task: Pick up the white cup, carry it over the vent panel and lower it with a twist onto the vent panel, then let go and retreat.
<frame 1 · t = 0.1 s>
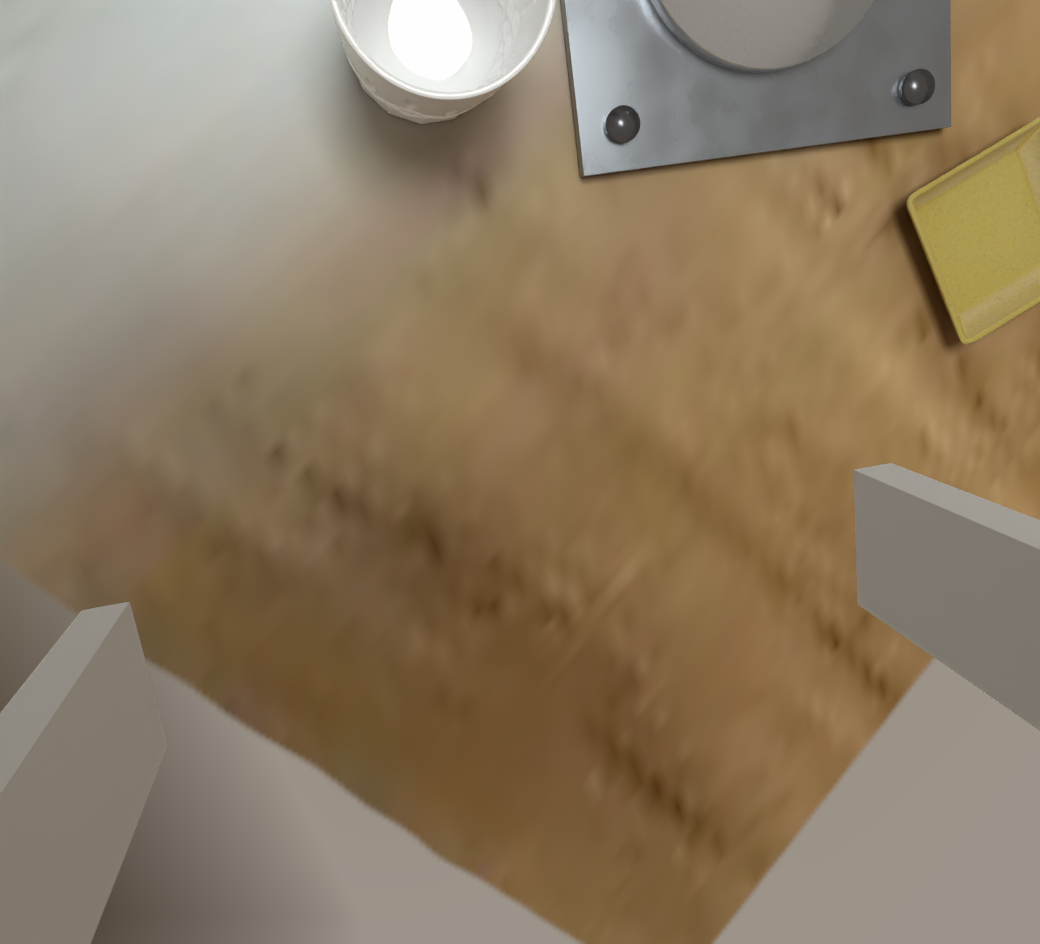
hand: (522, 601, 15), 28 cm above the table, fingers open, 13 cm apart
white cup: (422, 45, 39), on the table
yellow square tray: (976, 233, 46), on the table
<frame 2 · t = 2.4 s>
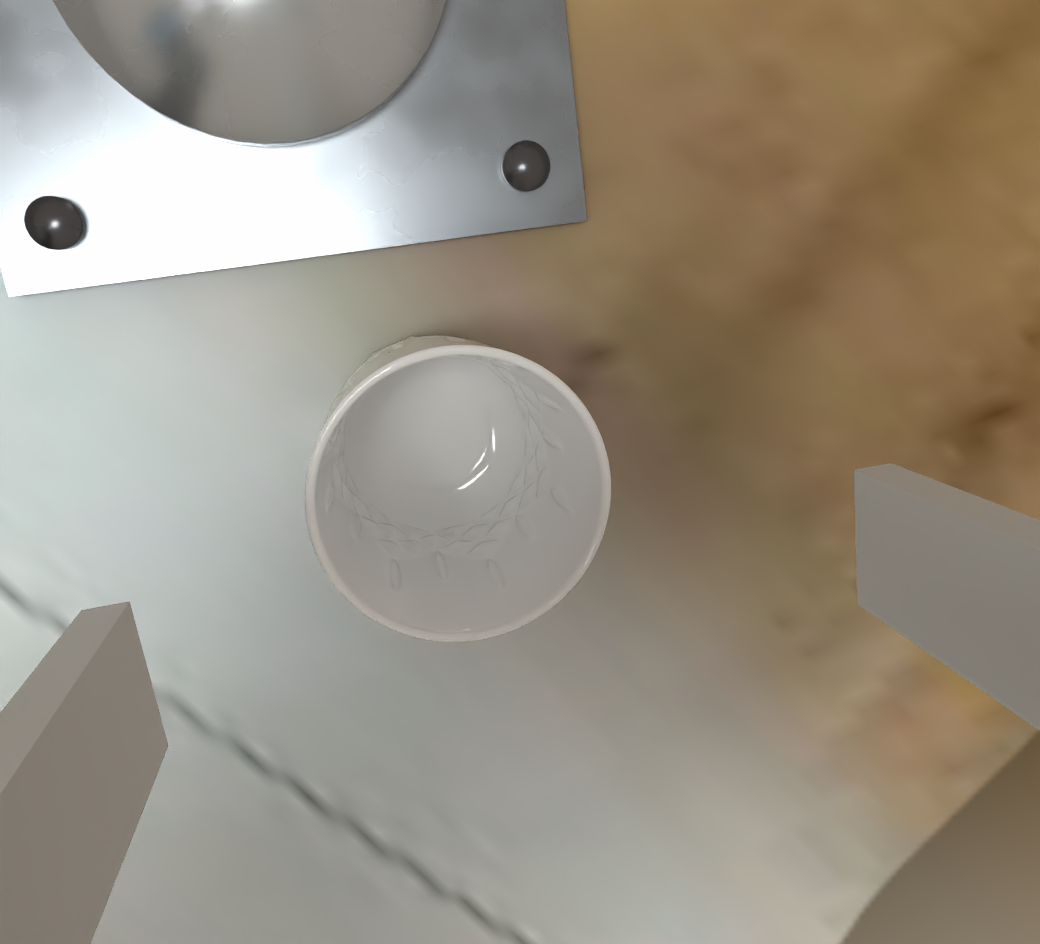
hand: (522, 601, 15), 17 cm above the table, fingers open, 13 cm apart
white cup: (429, 426, 32), on the table
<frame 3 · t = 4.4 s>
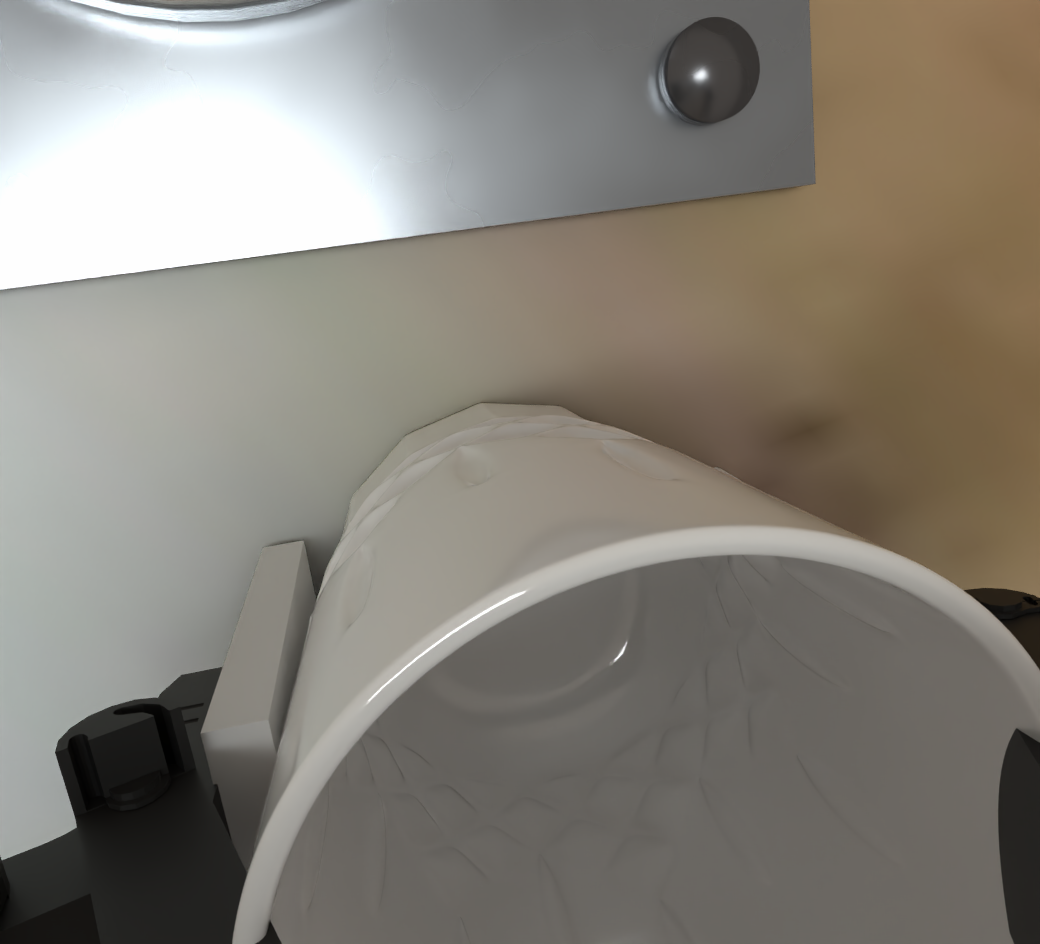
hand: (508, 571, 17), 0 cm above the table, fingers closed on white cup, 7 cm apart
white cup: (505, 563, 17), on the table, touching gripper
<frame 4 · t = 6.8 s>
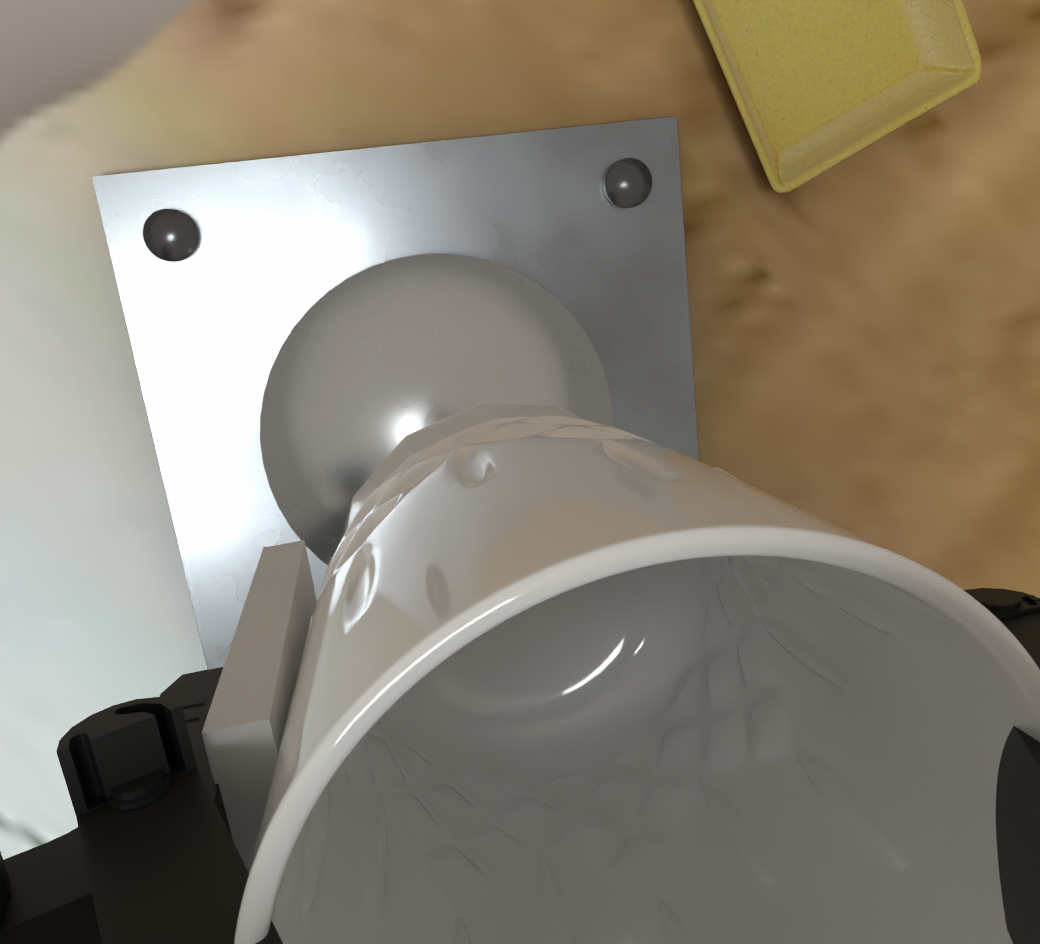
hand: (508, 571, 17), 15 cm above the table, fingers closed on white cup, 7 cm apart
white cup: (506, 563, 17), point 15 cm above the table, touching gripper
yellow square tray: (804, 32, 31), on the table
vent panel: (437, 425, 31), on the table
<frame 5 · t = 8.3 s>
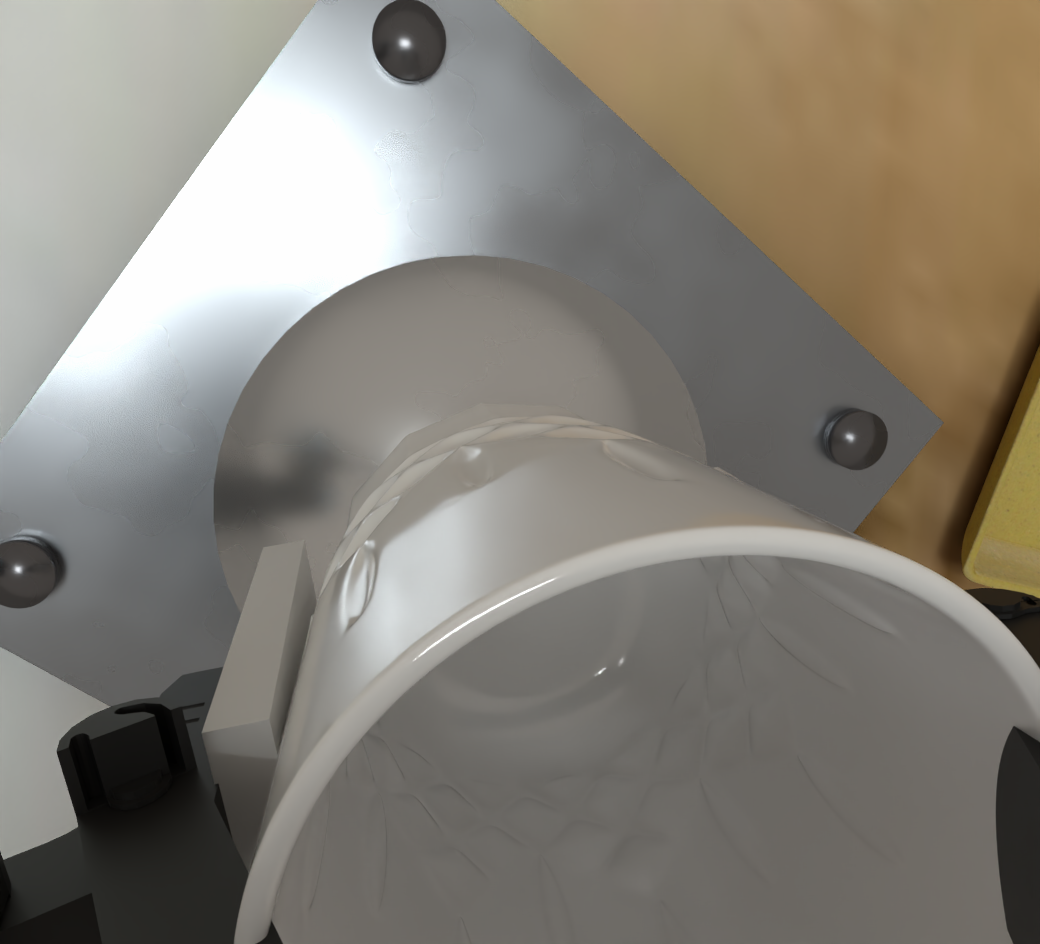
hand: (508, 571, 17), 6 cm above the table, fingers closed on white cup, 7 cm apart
white cup: (506, 563, 17), point 6 cm above the table, touching gripper
vent panel: (463, 490, 23), on the table
when the fingers open (3 cm above the table, at t = 9.5 s): white cup stays where it is, resting on vent panel.
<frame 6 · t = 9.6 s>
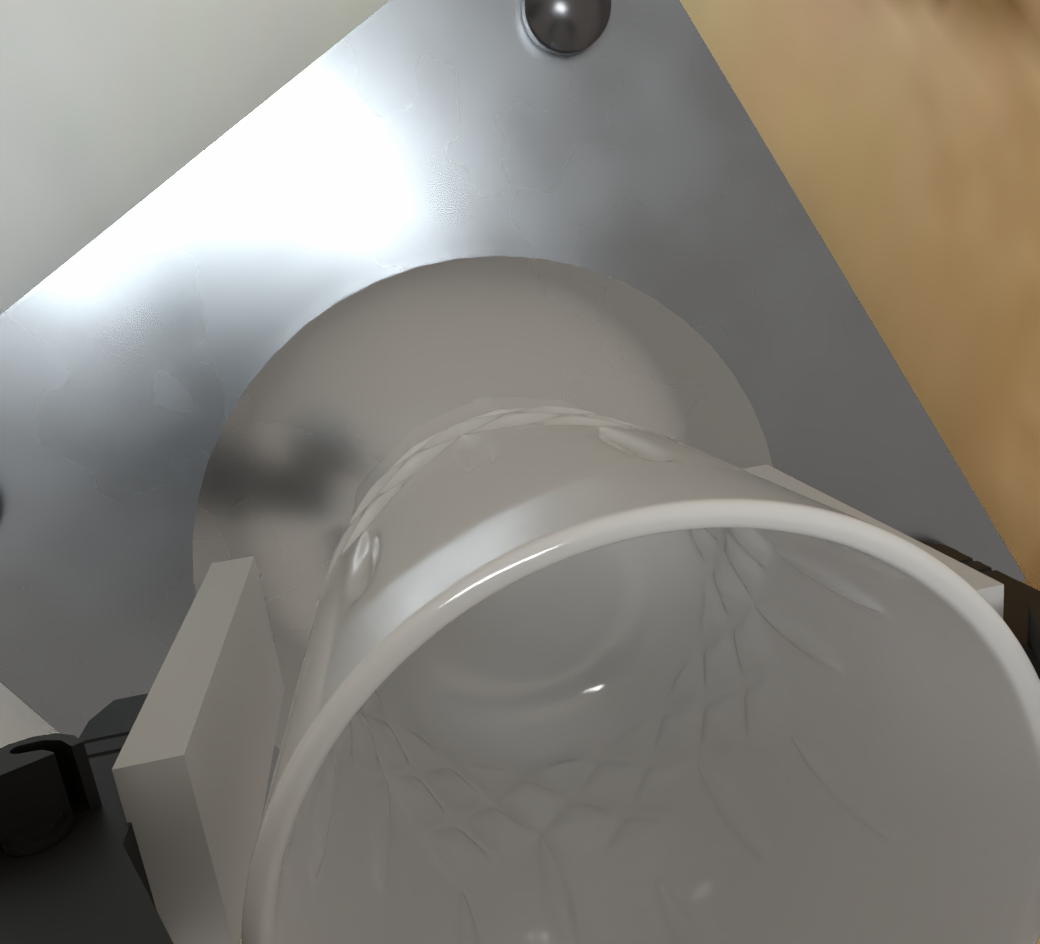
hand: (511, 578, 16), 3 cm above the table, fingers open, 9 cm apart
white cup: (508, 553, 18), point 2 cm above the table, touching vent panel
vent panel: (489, 530, 19), on the table
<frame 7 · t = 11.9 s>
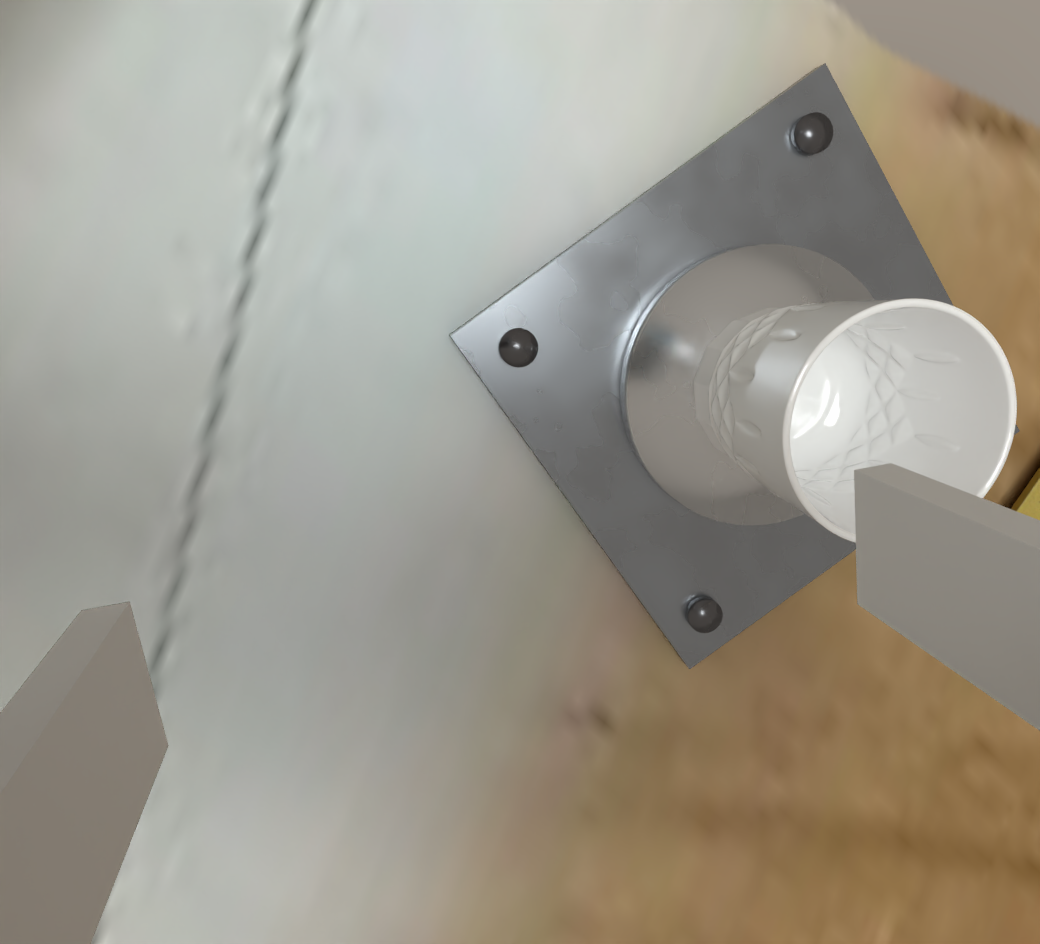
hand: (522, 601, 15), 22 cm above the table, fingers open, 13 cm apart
white cup: (765, 387, 37), point 2 cm above the table, touching vent panel
vent panel: (745, 384, 38), on the table
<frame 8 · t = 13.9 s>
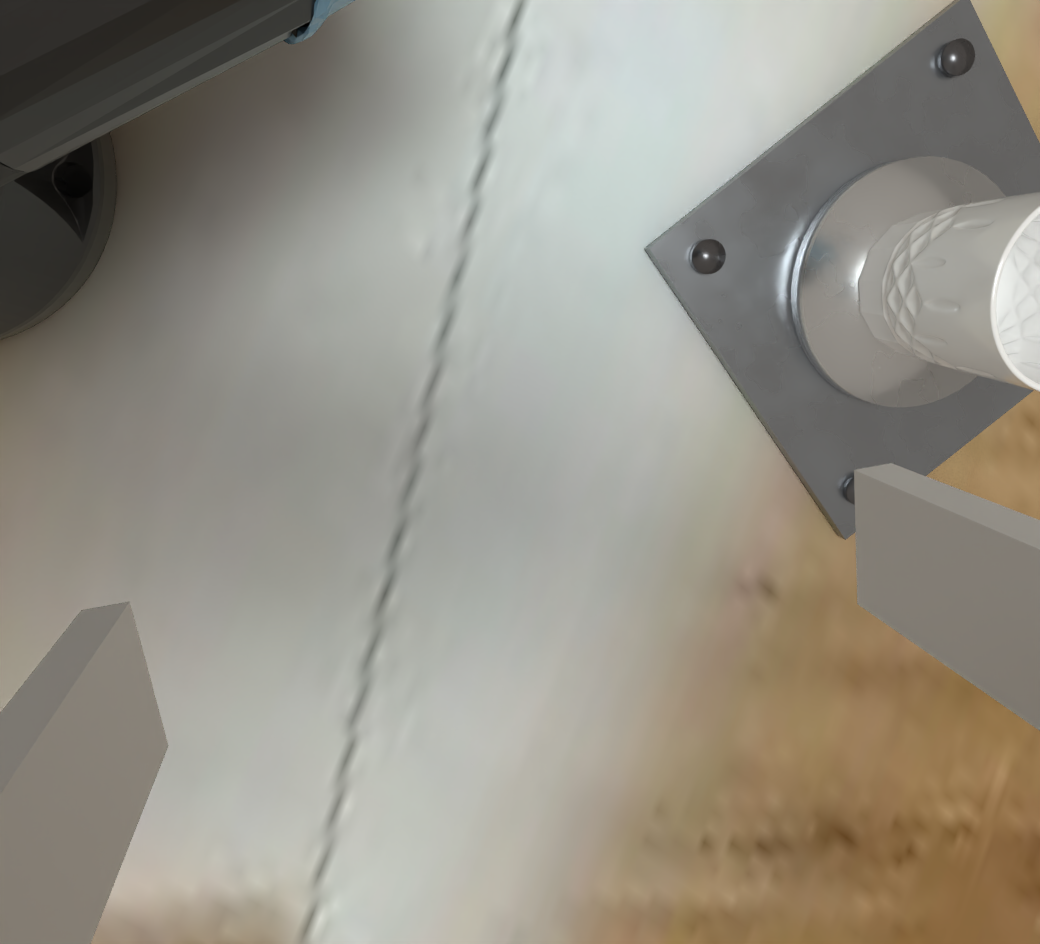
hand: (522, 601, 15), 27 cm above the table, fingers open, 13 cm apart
white cup: (917, 284, 42), point 2 cm above the table, touching vent panel
vent panel: (892, 285, 44), on the table
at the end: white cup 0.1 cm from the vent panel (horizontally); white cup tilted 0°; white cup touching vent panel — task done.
